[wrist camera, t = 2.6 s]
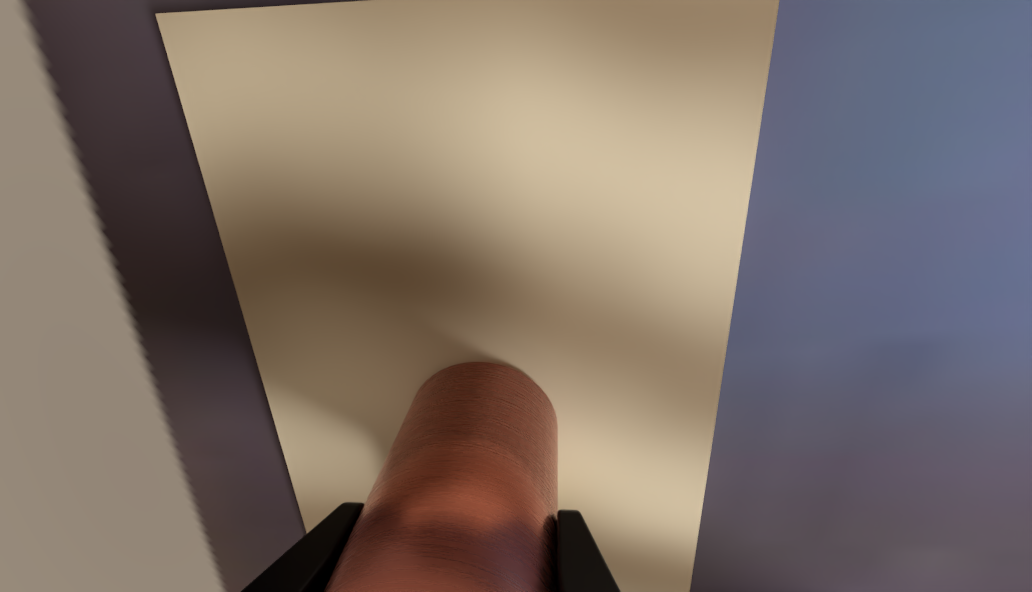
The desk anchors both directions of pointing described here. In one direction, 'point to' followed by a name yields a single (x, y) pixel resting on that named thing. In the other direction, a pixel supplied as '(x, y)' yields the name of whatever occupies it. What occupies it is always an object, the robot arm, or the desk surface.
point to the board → (489, 228)
